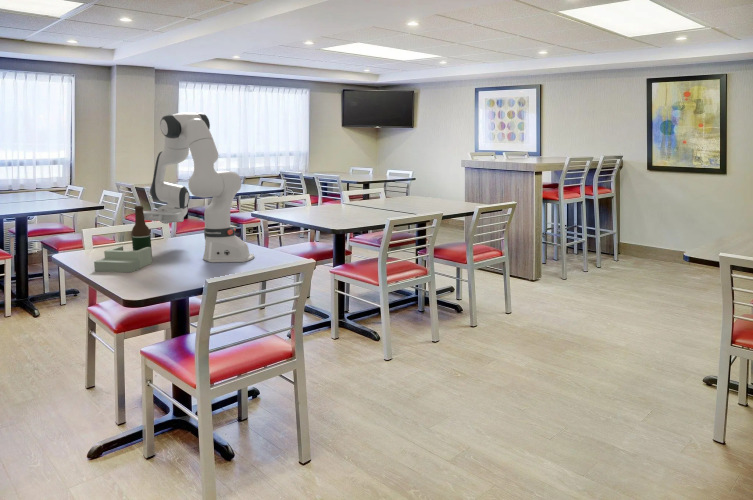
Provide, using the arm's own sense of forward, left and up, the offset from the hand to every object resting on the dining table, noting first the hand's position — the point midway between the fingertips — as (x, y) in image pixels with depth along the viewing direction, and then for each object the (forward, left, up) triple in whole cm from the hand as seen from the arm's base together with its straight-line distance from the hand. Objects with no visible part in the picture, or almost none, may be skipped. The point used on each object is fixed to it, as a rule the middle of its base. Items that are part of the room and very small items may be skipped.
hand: (152, 218), depth 277 cm
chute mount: (0, +27, -17) cm, 31 cm away
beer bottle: (0, +12, -17) cm, 21 cm away
